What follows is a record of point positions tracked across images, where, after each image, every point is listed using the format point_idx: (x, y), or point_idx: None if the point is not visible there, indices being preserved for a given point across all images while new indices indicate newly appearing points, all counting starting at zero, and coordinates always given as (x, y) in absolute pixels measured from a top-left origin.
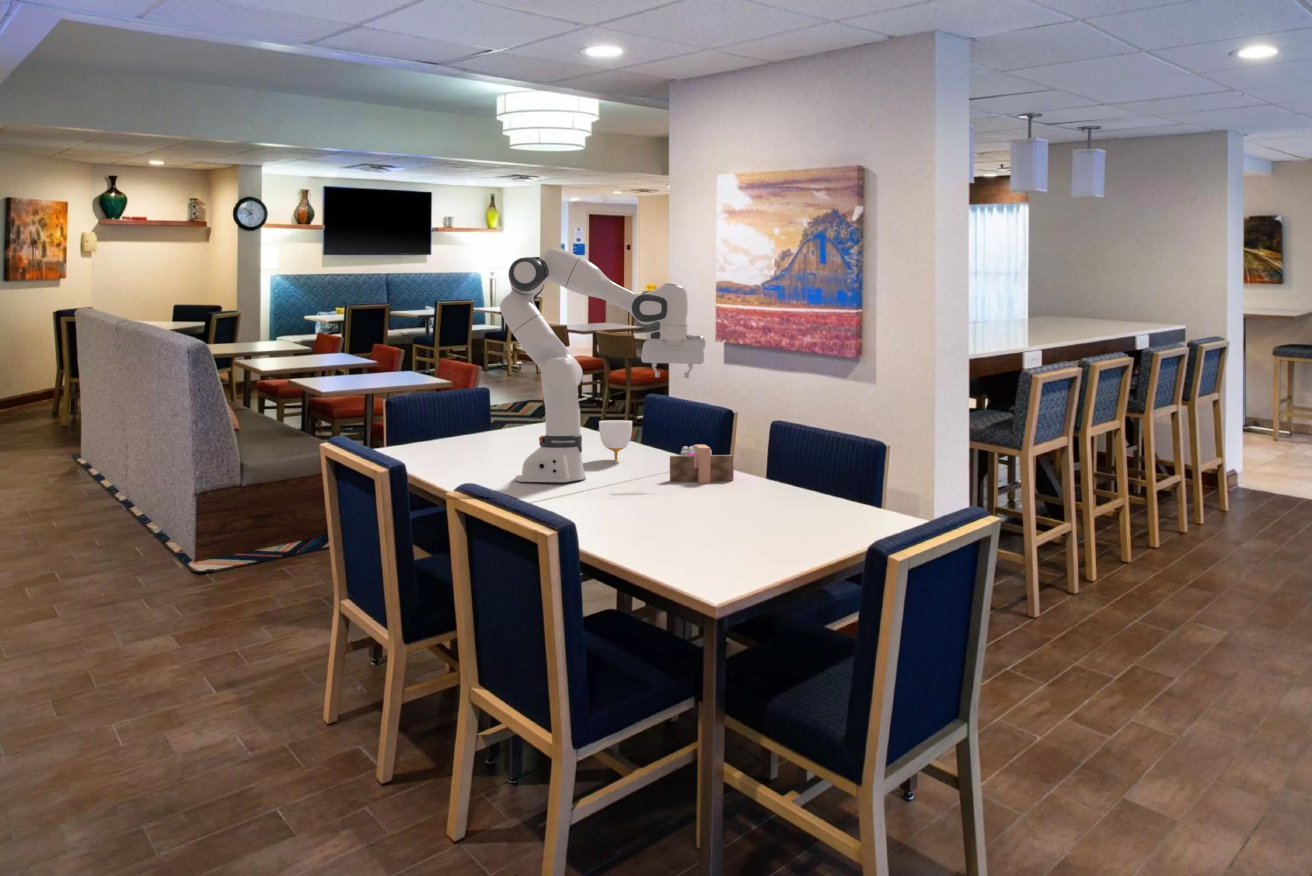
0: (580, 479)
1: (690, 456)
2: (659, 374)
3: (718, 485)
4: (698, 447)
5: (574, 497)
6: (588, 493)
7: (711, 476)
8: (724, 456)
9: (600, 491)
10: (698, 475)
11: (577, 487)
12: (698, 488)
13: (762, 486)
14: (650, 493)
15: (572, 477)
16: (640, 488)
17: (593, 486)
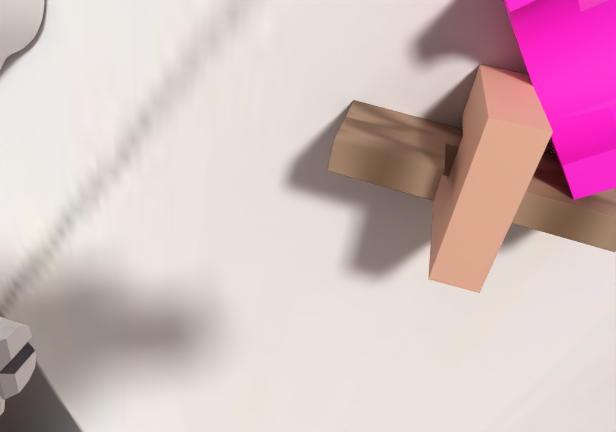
0: (32, 38)
1: (416, 195)
2: (3, 402)
3: None
4: (438, 253)
5: (65, 294)
6: (88, 257)
7: None
8: (573, 239)
9: (115, 240)
10: (440, 191)
11: (48, 147)
12: (381, 295)
13: (592, 338)
14: (233, 314)
15: (2, 56)
16: (220, 232)
17: (90, 144)
